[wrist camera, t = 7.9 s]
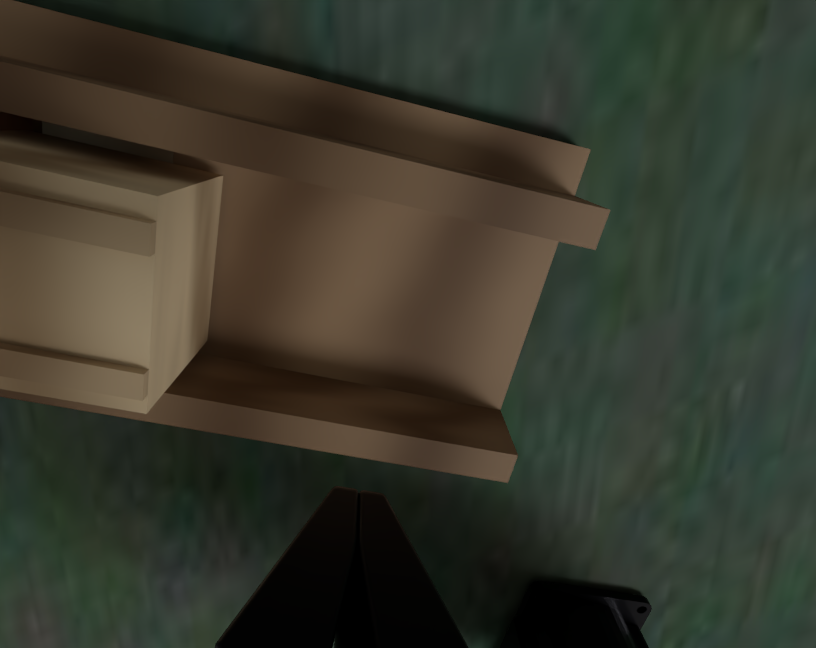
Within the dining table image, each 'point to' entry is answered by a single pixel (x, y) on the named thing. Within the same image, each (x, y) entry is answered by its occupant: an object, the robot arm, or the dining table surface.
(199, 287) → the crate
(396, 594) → the robot arm
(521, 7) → the dining table surface
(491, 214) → the bay
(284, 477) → the dining table surface
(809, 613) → the dining table surface
